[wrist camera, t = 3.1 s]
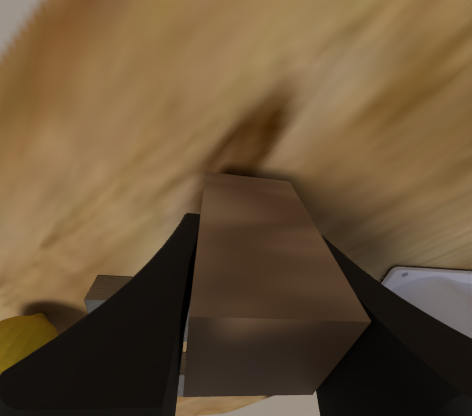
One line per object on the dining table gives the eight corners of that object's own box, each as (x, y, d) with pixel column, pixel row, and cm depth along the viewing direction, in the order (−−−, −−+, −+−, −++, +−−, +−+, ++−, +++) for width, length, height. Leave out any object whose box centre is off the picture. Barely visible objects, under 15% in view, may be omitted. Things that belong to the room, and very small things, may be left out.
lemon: (81, 335, 21) (15, 469, 14) (9, 329, 19) (-101, 472, 13) (77, 297, 18) (-8, 441, 11) (-8, 287, 17) (-160, 442, 10)
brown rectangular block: (289, 181, 11) (371, 321, 5) (270, 244, 13) (312, 394, 7) (205, 171, 10) (188, 316, 5) (199, 239, 13) (183, 396, 7)
